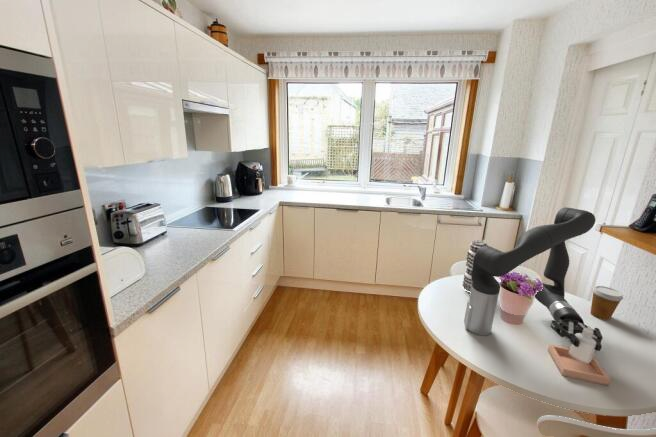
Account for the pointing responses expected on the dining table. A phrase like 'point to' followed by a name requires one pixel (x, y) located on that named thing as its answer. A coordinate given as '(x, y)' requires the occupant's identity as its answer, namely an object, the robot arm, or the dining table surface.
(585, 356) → the eye dropper bottle
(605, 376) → the terracotta caddy
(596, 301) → the disposable coffee cup
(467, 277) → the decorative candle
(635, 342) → the dining table surface
